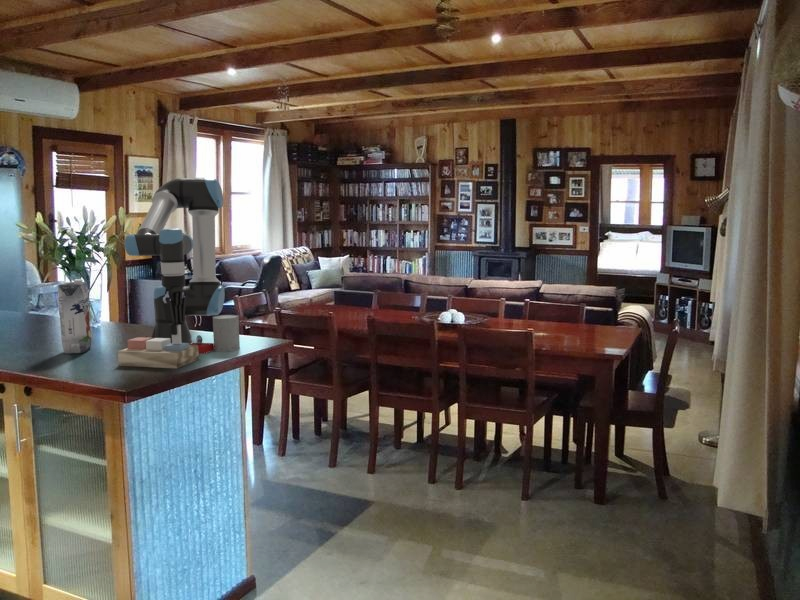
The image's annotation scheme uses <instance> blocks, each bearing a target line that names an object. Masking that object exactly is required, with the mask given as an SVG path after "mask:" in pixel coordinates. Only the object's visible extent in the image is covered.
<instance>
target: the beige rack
mask: <svg viewBox="0 0 800 600" xmlns="http://www.w3.org/2000/svg"><path fill="white" fill-rule="evenodd" d="M199 355H200V353H198V345H189V348H188V349H185V350H183V351H165V349H164V350H146V349H128V347H127V348H124V349H120V350H118V351H117V356H118V366H119V367H140V368H142V367H143V368H160V369H161V368H162V369H179V368H182V367H185V366H186V365H189V364H192V363H194V362H196V361H198V360H199V359H200V358H199Z"/></svg>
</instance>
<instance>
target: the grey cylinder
mask: <svg viewBox="0 0 800 600" xmlns="http://www.w3.org/2000/svg"><path fill="white" fill-rule="evenodd" d="M211 318H212V331H213V335H212V336H213V343H214V350H213V351H215V352H220V353H221V352H223V353H224V352H225V353H226V352H233V351H234V352H235V351H238V350H240V349H241V346H240V345H241V344H240V325H239V324H240V322H239V318H240V317H239V315H237V314H218V315H213V316H212V317H211Z"/></svg>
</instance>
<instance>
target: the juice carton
mask: <svg viewBox="0 0 800 600" xmlns="http://www.w3.org/2000/svg"><path fill="white" fill-rule="evenodd" d="M57 289H58V290H57V292H58V293H57V297H58V298H57V299H58V310H59V323H60V337H61V345H62V346H61V347H62V349H63V350H62V351H63V353H64V354H84V353H86V352H87V351H88V350H90V349H91V348H92V327H91V312H90V311H91V310H90V296H89V287H88V282H87V281H83V279H77V278H76V279H74V280H73V281H71V282H66V281H65V282H64V283H62V284H58V286H57Z"/></svg>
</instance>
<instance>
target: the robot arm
mask: <svg viewBox="0 0 800 600" xmlns="http://www.w3.org/2000/svg"><path fill="white" fill-rule="evenodd" d="M223 207H224V196H223V191H222V187H221V184H220V182H219V180H217V179H216V178H215V177H214V178H213V177H186V178H185V177H184V178H183V177H178V178H174V179H171V180H169V181H167V182H165V183H164V184H163V185H161V186H159V188H157V190H156V191H155V193H154V194H153V196H152V198H151V205H150V208H149V209H148V211H147V213H146V215H145V217H144V219H143V221H142V223H141V225H140V226H139V228H138V230H137V232H136V233H132V234H127V235H126V236H125V238H124V245H123V246H124V250H125V252H126V254H127V255H128V256H132V257H133V256H135V257H137V256H138V257H140V256H141V257H142V256H143V257H144V256H145V257H146V256H148V257H151V256H159V257H160V268H161V269H160V270H161V271H160V272H161V275H162V276H161V285H159V286H156V287H155V288H154V289H153V306H154V308H153V309H154V327H153V331H152V335H151V338H152V339H154V338H170V339H171V343H172V344H182V343H189V344H190V343H192V340H193V339H192V334H191V331H190V328H189V325H188V323H187V317H193V316H194V317H198V316H199V317H200V316H207V317H209V316H218V315H220V314H221V312H222V311H223V307H224V304H225V297H226V296H225V294H226V293H225V287H224V286H223V285H222V284H221V281H220V280H219V279H218V278H217V276H216V275H217V274H216V271H217V268H216V266H217V265H216V216H217V215H218V214H219V213H220V211H219V209H221V208H223ZM178 209H187V210H188V214H189V215H191V217H192V223H191V224H192V226H191V227H192V228H191V229H192V237H191V236H190V235H189V234H187V233H185V232H183V230H182V229H181V228H165V226H166V225H167V223H168V221H169V219H170V216H171V215H172V213H174V212H176V210H178ZM191 251H192V273H193V274H192V278H191V279H190V280H189V284H188V286H186V276H185V275H184V274H185V273H186V271H185V269H186V267H185V256H186V255H188V254H189V253H190V252H191Z"/></svg>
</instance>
